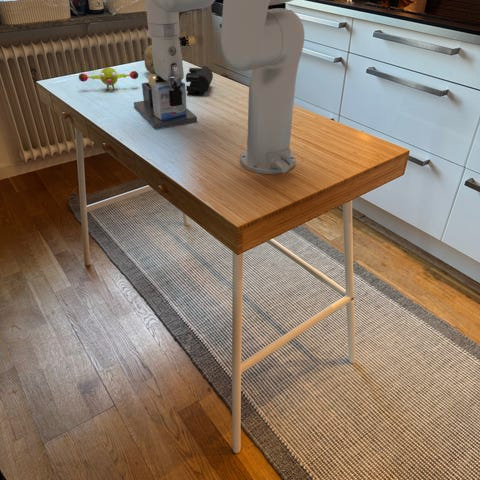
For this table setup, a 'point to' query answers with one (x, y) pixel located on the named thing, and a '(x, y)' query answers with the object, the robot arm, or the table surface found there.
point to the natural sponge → (149, 59)
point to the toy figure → (108, 76)
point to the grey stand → (148, 113)
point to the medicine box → (166, 101)
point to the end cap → (198, 81)
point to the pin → (151, 79)
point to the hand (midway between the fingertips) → (169, 99)
